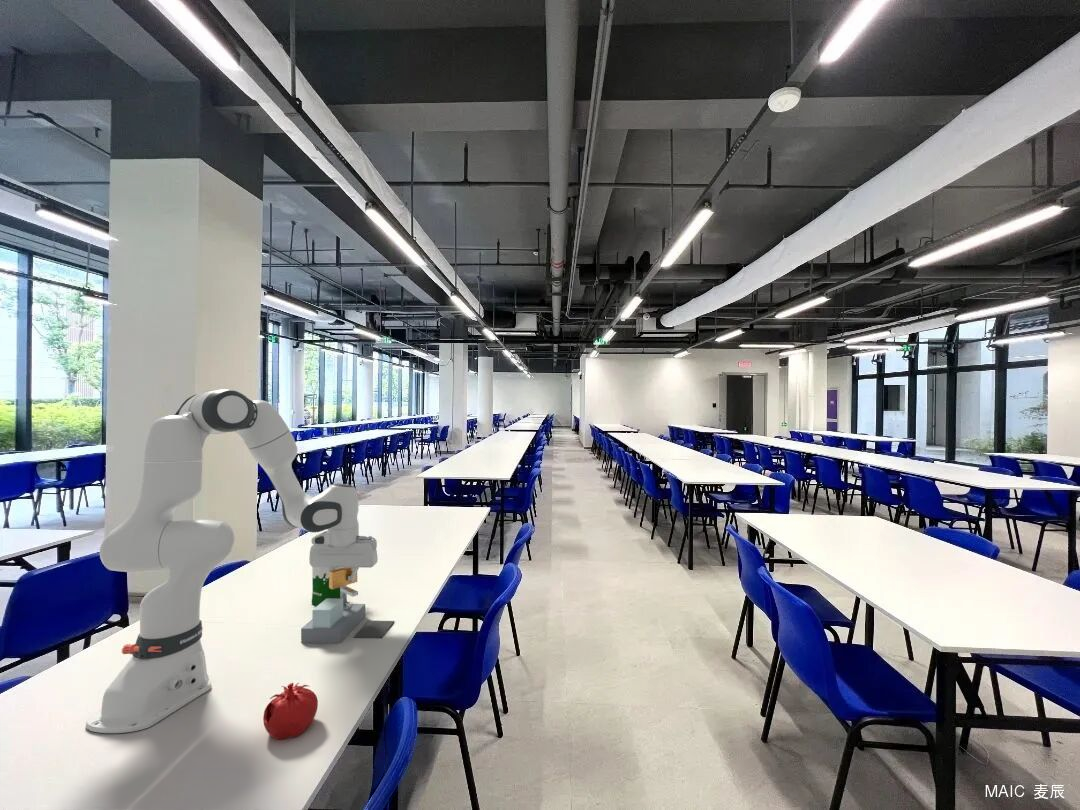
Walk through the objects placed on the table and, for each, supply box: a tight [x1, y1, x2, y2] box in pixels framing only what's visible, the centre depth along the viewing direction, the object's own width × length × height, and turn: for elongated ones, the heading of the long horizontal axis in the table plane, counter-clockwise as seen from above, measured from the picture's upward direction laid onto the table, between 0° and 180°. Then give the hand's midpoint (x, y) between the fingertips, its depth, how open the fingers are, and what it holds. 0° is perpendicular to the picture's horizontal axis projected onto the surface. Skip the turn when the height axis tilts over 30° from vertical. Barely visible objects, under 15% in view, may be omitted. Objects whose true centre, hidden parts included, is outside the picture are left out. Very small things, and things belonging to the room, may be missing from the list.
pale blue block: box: [311, 598, 343, 628], centre depth 137 cm, size 8×5×5 cm, turn 177°
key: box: [329, 567, 359, 608], centre depth 145 cm, size 8×8×12 cm
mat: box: [353, 620, 395, 639], centre depth 140 cm, size 10×8×1 cm
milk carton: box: [311, 566, 343, 607], centre depth 161 cm, size 9×9×20 cm
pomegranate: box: [262, 682, 319, 740], centre depth 98 cm, size 10×10×9 cm
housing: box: [300, 602, 366, 644], centre depth 141 cm, size 17×11×4 cm, turn 177°
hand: (344, 580), depth 147 cm, fingers closed on key, 3 cm apart
